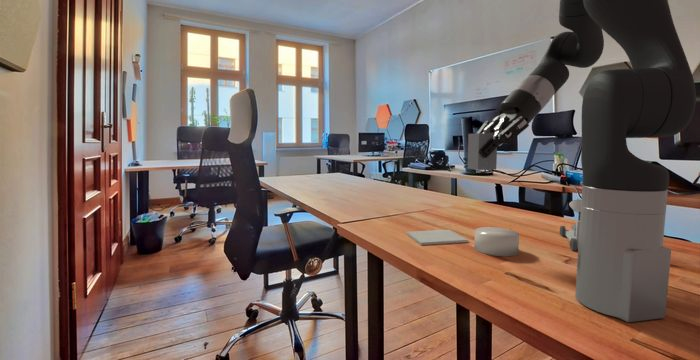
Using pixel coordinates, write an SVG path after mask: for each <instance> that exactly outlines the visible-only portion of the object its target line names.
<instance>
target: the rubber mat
mask: <svg viewBox="0 0 700 360" xmlns="http://www.w3.org/2000/svg"><path fill="white" fill-rule="evenodd" d="M405 234H406V236H408V237H410V238H411V239H412V240H413V241H415V242H416V243H417V244H418V245H420V246H429V245H443V244H444V245H445V244H458V243H459V244H460V243H469V239H467V238H466V237H464V236H462V235H460V234H458V233H456V232H455V231H452V230H450V229H449V228H448V229H434V230H432V229H431V230H417V231H415V230H414V231H412V230H411V231H406V233H405Z"/></svg>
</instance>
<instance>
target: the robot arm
mask: <svg viewBox="0 0 700 360" xmlns="http://www.w3.org/2000/svg"><path fill="white" fill-rule="evenodd" d="M558 12H559V13H558V22H559V25H561V27H563V28H565V29H567V30H569V31H563V32H561V33H558V34H557V35H556V36H554V37H553V38H552V40H551V41H550V43H549V44H548V47H547V49H546V51H545V53H544V54H543V56H542V58H541V60H540V62H539V64H538V65H537V67H535V68H534V69H533V71H531V72H530V74H528V76H527V77H526V78H524V79H523V80H522V81H521V82H520V83H519V84H518V85H517V86H516V87H515V88H514V89H513V90H512V91H511V92H510V93H509V94H508V95H507V96H506V98H505V99H504V100H503V101H501V103H500V104H499V113H500V114H499V115H497V116H496V117H494V118H493V119H492V120H491V122H490V121H488V120H485V122H484V123H482V125H481V126H480V128H479V130H478V131H477V132H476V133H495V134H494V135H493V136H492V137H491V139H492V140H489V141H488V142H487V143H486V144H485V145H484V146H483V147H482V148H481V149H480V150H479V153H480V154H481V155H482V157H483V158H487V157H488V156H489V155H490V154H491V153H492V152H493V151H494V150H495V149H496V148H497V149H498V147H501V146H503V144H504V145H508V144H509V143H511V141H513V140H514V139H515V138H517V137H518V136H519V135H520V134H521V133H523V132H524V131H525V130H526V129H527V128H528V127H529V124H530V123H531V122H532V121H533V120H534V119H535V117H536V116H537V115H538V114H539V113H541V111H542V110H543V109H544V108H545V107H546V106H547V105H548V103H549V102H550V101H551V99H552V98H553V97H554V95H556V93H557V92H558V91H559V90H560V89H561V88H562V87H563V86H564V85H565V83H567V81H568V79H569V78H570V77H569V76H570V71H569V68H568V66H569V67H575V68H580V69H587V68H589V67H592V66H593V65H595V64H596V63H597V62H598V61H599V60H600V58H601V56H602V55H603V50H604V48H605V47H604V46H605V38H604V33H606V34H607V35H608V36H609V37H611V38H612V40H614V41H615V42H616V43H617V44H618V45H619V46H620V47H621V49H623V51H624V52H625V54H626V56H627V58H628V60H629V62H630V65H631V67H632V68H621V69H608V70H607V69H606V70H603V71H600V72H598V73H596V74H594V76H592V78H591V79H590V80H589V81H588V83H587V86H586V87H585V91H584V93H583V97H582V103H581V105H582V106H581V151H580V152H581V153H580V154H581V157H580V163H581V169H582V185H581V188H582V189H581V199H580V200H581V214H580V230H579V245H578V248H577V261H576V262H577V263H576V265H577V266H576V279H575V295H574V296H575V299H576V300H577V301H578V302H579V303H580V304H582V305H583V306H584V307H587V308H589V309H591V310H593V311H595V312H598V313H601V314H604V315H607V316H610V317H614V318H618V319H620V320H622V321H624V322H626V323H633V322H640V321H647V320H648V321H649V320H656V319H665V318H666V311H667V309H666V308H667V300H668V292H669V291H668V289H669V282H670V281H669V279H670V272H671V271H670V268H671V259H672V249H671V248H669V247H667V246H664V239H665V238H664V237H665V226H666V225H665V224H666V213H667V204H668V194H669V193H668V192H669V185H670V184H669V183H670V173H669V170H668V169H667V168H666V167H664V166H662V165H658V164H655V163H652V162H649V161H646V160H644V159H641V158H640V157H638V156H636V155H634V154H633V153H632V152H631V151H630V150H629V148H628V143H627V139H647V138H648V139H650V138H652V139H653V138H667V137H672V136H673V137H674V136H676V135H678V134H680V133H681V132H682V131H684V130H685V129H686V128H687V127H688V126H689V124H690V123H691V120H692V119H693V117H694V114H695V110H696V105H697V104H696V103H697V92H696V84H695V79H694V76H693V73H692V69H691V67H690V64H689V62H688V59H687V58H688V57H686V56H687V55H686V53H685V51H684V48H683V44H682V42H681V40H680V38H679V37H680V36H679V35H678V32H677V29H676V27H675V26H676V25H675V23H674V19H673V17H672V12H671V8H670V5H669V1H668V0H559V11H558ZM603 32H604V33H603ZM466 152H467V153H468V149H467V150H466Z"/></svg>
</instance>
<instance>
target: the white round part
mask: <svg viewBox="0 0 700 360" xmlns="http://www.w3.org/2000/svg"><path fill="white" fill-rule="evenodd" d="M473 246H474V247H473V248H474V250H475V251H477V252H479V253H481V254H484V255H488V256H495V257H513V256H517V255H519V248H520V247H519V246H520V233H519V232H517V231H516V230H512V229H508V228H503V227H496V226H495V227H494V226H487V227H486V226H485V227H478V228H475V229H474V245H473Z"/></svg>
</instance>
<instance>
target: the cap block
mask: <svg viewBox="0 0 700 360" xmlns="http://www.w3.org/2000/svg"><path fill="white" fill-rule="evenodd" d="M494 134H495V133H492V132H491V133H477V132H476V133H468V138H467V139H468V140H467V141H468V144H467V150H468V152H467V169H469V170H475V171H489V170H490V171H491V170H493V171H495V170H497V162H498V161H497V160H498V159H497V158H498V147H497V148H496V149H495V150H494V151H493V152H492V153H491V154H490V155H489V156H488V157H487V158H483V157H482V155H481V154H480V153H479V150H480V149H481V148H482V147H483V146H484V145H485V144H486V143H487V142H488V141H489V140H492V139H491V137H492V136H493V135H494Z"/></svg>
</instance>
